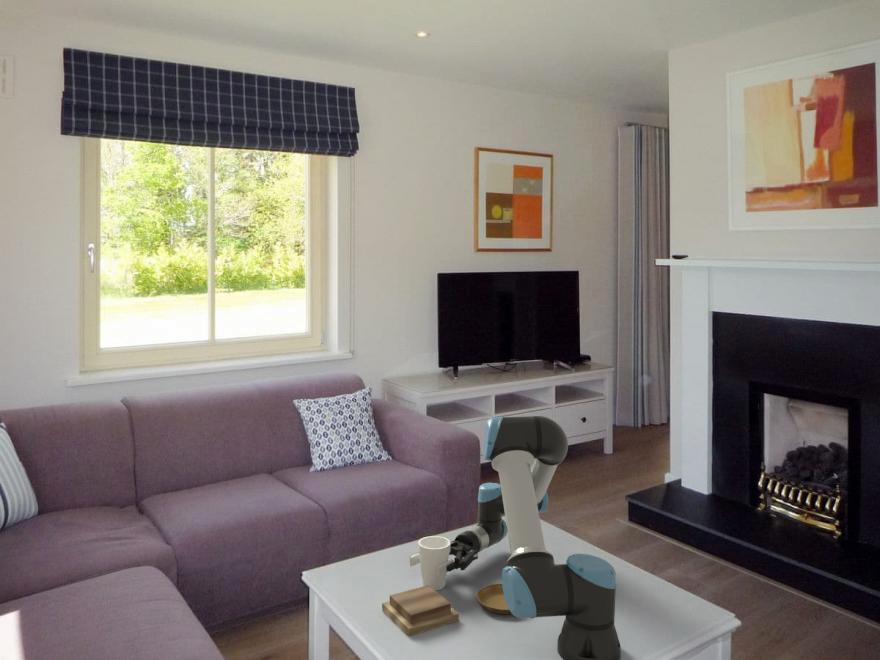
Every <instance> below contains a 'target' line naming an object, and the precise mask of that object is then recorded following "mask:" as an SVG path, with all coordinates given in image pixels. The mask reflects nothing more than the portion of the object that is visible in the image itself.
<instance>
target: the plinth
mask: <svg viewBox="0 0 880 660" xmlns="http://www.w3.org/2000/svg"><path fill="white" fill-rule="evenodd" d="M381 606H382V607H381V609H382V612H383V613H384V614H385V615H387V617H388V618H389V619H390V620H392V622H394V623H395V624H396V625H397V626H398V628H400V629H401V631H403V632H404V633H405V635H407V636H408V637H410V636H413V635H417V634H420V633H422V632H426V631H430V630H433V629H436V628H439V627H442V626H446V625H449V624H452V623H455V622H458V621H459V622H460V619H459V617H460V614H459V613H458V611H456V610H455V609H454V608H452V603H451V602H450V601H448V600H447V599H446V598H445V597H444V596H443V595H441V593H439V592H438V591H437V590H434V589H432V588H431V587H430V586H429V585H427V586H423V585H422V586H420V587H416V588H413V589H409V590H405V591H401V592H398V593H394V594H390V595H389V601H386V602H383V603H381Z"/></svg>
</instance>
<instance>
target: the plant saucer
mask: <svg viewBox="0 0 880 660" xmlns="http://www.w3.org/2000/svg"><path fill="white" fill-rule="evenodd" d="M502 585H503V584H502V583H492V584H488V585H484V586H483V587H481V588H480V589H479V590H478V591H477V593H476V598H477V600H478V602H479V604H481V605H482V607H483V608H485V610H487V611H490V613H491V612H492V613H494V614H500V615H501V614H502V615H510V614H511V615H512V613H511V612H510V610H509V608H508V606H507V603H506V600H505V597H504V593H503V587H502Z"/></svg>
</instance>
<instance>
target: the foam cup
mask: <svg viewBox="0 0 880 660" xmlns="http://www.w3.org/2000/svg"><path fill="white" fill-rule="evenodd" d="M450 548H451V542H450V539H448V538H446V537H444V536H439V535H431V536H429V535H427V536H426V537H421V538H420V539H419V540H418V541H417V553H418V552H419V557H420V563H419V564H420V572H421V580H422V587H423V586H427V585H429V586H430V587H431V588H432V589H434V590H435V591H440V590H442V589H444V588H445V586H446V579H447V573H445V574H443V575H442V576H440V577H438V576H437V567H438V566H440V565H442V564H444V563H445V562H447V561H449V557H450V555H449V553H450Z"/></svg>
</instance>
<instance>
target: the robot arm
mask: <svg viewBox="0 0 880 660" xmlns="http://www.w3.org/2000/svg"><path fill="white" fill-rule="evenodd" d="M482 448H483V452H482V453H483V459H484V460H485V461H487V462H488V461H490V463H491V467H492V469H493V470H494V471H496V472H498V478H499V483H496V482H494V483H493V482H486V483H482V484H481V485H479V488H478V495H477V501H478V503H477V506H478V509H477V511H478V512H477V514H478V517H477V525H475V526H473V527H471V528H469V529H466V530H465V531H463V532H460V533H459V534H457V536H456V537H455V538H454V540H451V541H450V540H449V541H450V542H451V548H450V553H449V556H454V559H451V558H450V560H449V559H448V561H447V562H445V563H444V564H442V565H440V566H438V567H437V576H438V577H440V576H442V575H443V574H445V573H446V574H447V573H449V572H452V571H454V570H458V569H460V570H461V571H465V570H466V569H467V568H468V567H469V566H470V565H471V564H472V563H473V562H474V561H475V560H477V559H479V553H481V552H482V551H484V550H486V549H489V548H490V547H491V546H492V547H493V546H494V545H495V544H498V543H500V542H501V541H502V540H504V539H505V537H506V536H508V542H509V543H508V544H509V549H510V554H511V555H510V556H509V558H508V559H507V560H506V566H505V567H503V568H502V570H501V584H503V585H502V587H503V593H504V597H505V600H506V603H507V606H508V608H509V610H510V612H511V615H513V616H514V617H515V618H521V619H522V618H523V619H525V618H526V619H528V618H529V619H535V618H546V617H547V618H548V617H550V618H551V617H563V616H565V618H564V621H563V624H562V628H561V631H560V633H559V635H558V638H557V645H556V646H557V648H556V649H557V653H558V655H559V656H560V657H561V658H562V659H563V660H621V656H622V655H621V654H622V652H621V651H622V647H621V646H622V645H621V643H620V640H619V636H618V633H617V629H616V626H615V617H616V616H615V614H616V613H615V611H616V591H617V581H616V576H617V575H616V569H615V568H614V566H613V565H612V564H611V563H610V562H608V561H607V560H605V559H603V558H601V557H599V556H596V555H592V554H587V553H573V554H571V555H569V556H568V557H567V559H566V560H565V561H566V562H565V563H563V564H557V563H555V560H554V559H555V558H554V555H553V554H552V553H551V552H549V551H548V550H547V549H546V545H545V540H544V535H543V534H544V533H543V530H542V529H543V528H542V523H541V519H540V514H539V513H545V512H547V511H548V509H549V494H548V488H549V486H550V483H551V481H552V479H553V477H554V474H555V472H556V470H557V467H558V465H560V464H562V463H563V461H565V459H566V456H567V454H568V450H569V441H568V437H567V434H566V433H565V431H564V429H563V428H562V426H561V425H560V424H558V422H556V421H555V420H553V419H552V418H549V417H548V416H547V417H546V416H541V415H535V416H532V415H531V416H498V417H497V416H496V417H490V418H489V419H488V420H486V423H485V426H484V434H483V447H482ZM503 515H504V517H505V520H504V519H503V517H502V516H503ZM418 564H420V557H419V552H418V551H417V552H416V553H415V554H413V555H412V556H411V555H410V556H409V566H410V567H414V566H416V565H418Z"/></svg>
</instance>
